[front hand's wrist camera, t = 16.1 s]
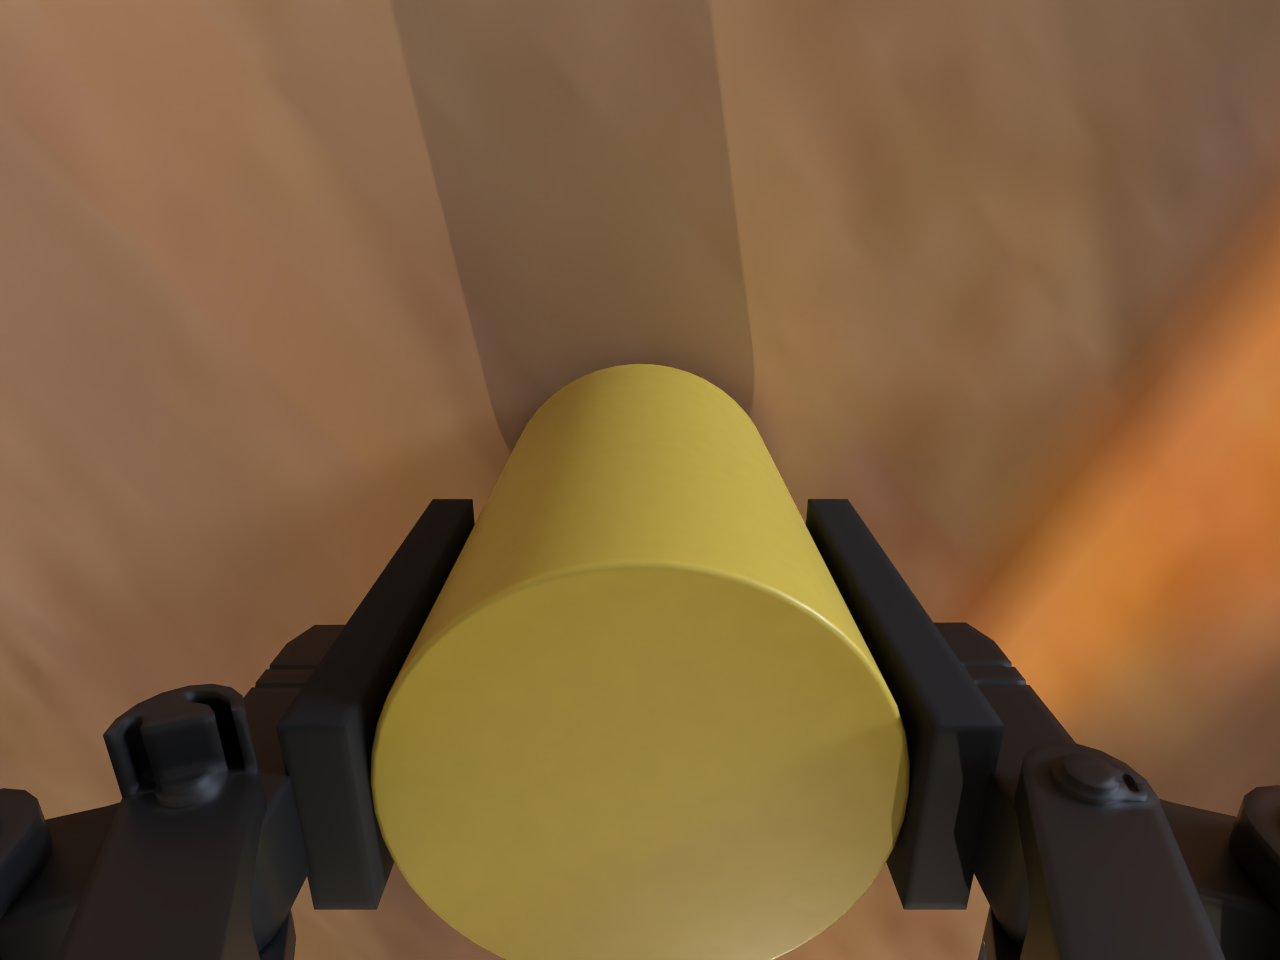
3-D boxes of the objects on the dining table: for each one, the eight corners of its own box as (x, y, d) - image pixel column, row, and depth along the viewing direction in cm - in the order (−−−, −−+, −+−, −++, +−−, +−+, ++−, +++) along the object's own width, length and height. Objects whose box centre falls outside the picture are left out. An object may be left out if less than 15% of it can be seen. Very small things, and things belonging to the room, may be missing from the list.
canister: (605, 307, 16) (559, 445, 7) (825, 462, 18) (1028, 750, 8) (460, 522, 18) (275, 853, 9) (669, 649, 20) (696, 1053, 10)
